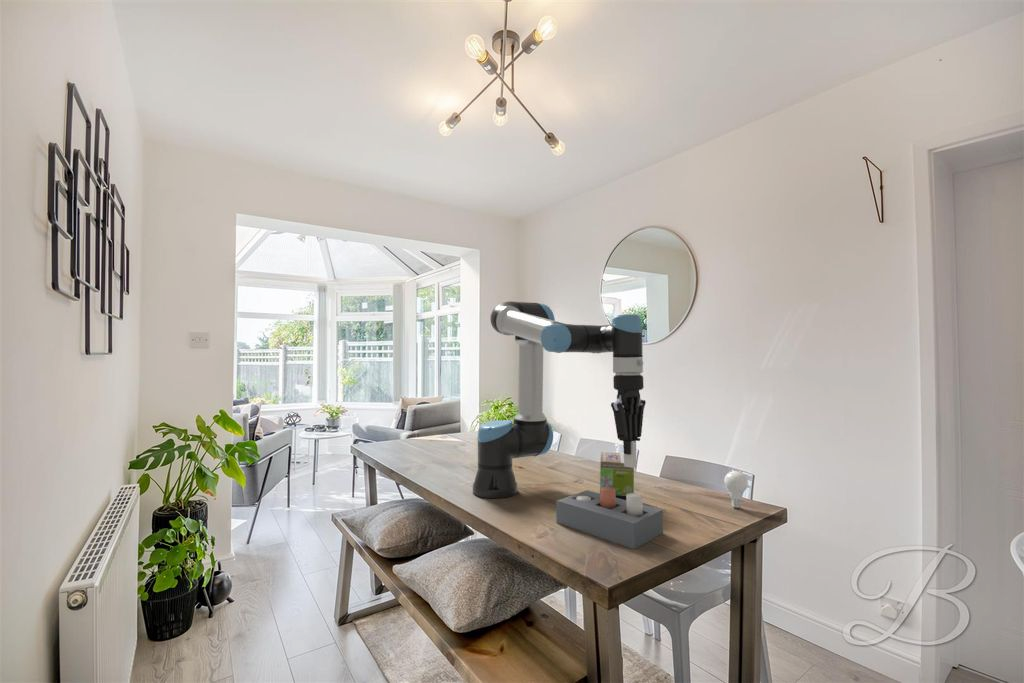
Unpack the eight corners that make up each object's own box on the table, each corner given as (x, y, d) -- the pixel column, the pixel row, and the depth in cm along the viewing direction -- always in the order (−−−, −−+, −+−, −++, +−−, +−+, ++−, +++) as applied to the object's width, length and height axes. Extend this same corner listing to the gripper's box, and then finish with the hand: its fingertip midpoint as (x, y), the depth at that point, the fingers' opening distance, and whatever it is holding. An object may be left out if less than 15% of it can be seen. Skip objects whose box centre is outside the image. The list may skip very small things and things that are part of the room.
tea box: (635, 514, 131) (634, 462, 132) (599, 511, 133) (599, 461, 134) (631, 498, 146) (631, 452, 146) (600, 496, 148) (599, 450, 148)
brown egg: (597, 509, 121) (597, 489, 121) (605, 506, 124) (605, 486, 124) (610, 513, 118) (609, 492, 118) (618, 509, 121) (618, 489, 121)
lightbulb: (720, 506, 138) (719, 470, 138) (733, 503, 140) (733, 467, 141) (739, 513, 132) (738, 475, 132) (753, 509, 135) (752, 472, 135)
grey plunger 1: (573, 517, 126) (573, 497, 127) (582, 514, 129) (582, 494, 129) (585, 521, 123) (585, 501, 124) (593, 517, 126) (593, 497, 126)
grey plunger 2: (623, 517, 115) (623, 495, 115) (631, 513, 118) (631, 492, 118) (637, 521, 112) (637, 499, 112) (645, 517, 115) (645, 495, 115)
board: (556, 522, 124) (556, 500, 124) (587, 510, 134) (587, 490, 134) (634, 549, 107) (634, 523, 107) (662, 533, 117) (662, 509, 117)
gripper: (627, 375, 110) (629, 473, 109) (654, 373, 119) (656, 464, 118) (601, 374, 115) (603, 468, 114) (629, 373, 124) (631, 460, 123)
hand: (630, 466), depth 116 cm, fingers closed
